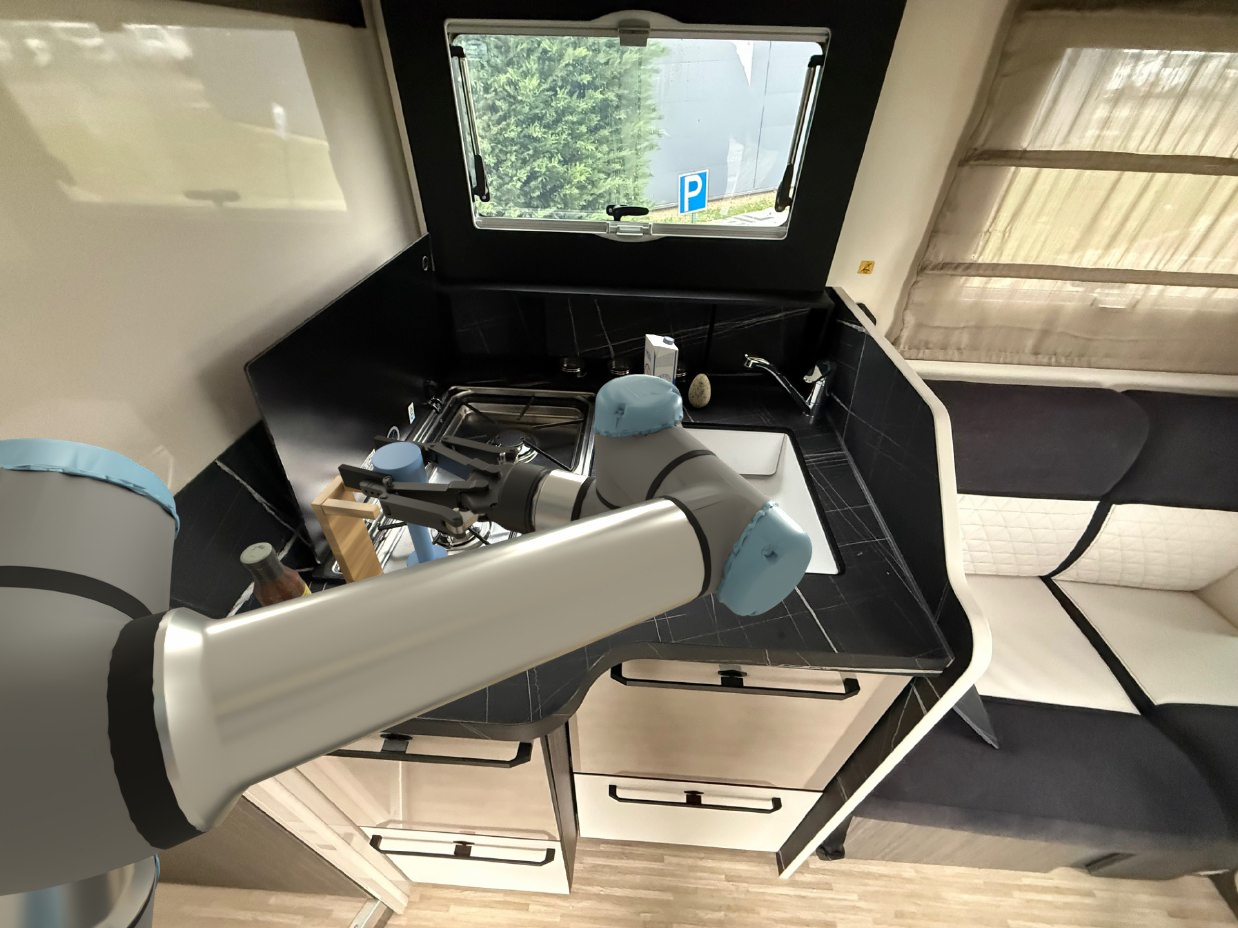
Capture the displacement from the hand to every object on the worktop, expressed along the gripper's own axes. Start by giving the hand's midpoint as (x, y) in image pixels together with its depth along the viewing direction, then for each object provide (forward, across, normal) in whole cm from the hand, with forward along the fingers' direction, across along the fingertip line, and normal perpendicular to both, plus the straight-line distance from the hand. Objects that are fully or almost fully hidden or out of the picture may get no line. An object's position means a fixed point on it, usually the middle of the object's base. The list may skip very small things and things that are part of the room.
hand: (361, 460), depth 61 cm
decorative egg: (-27, +89, -38) cm, 101 cm away
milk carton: (-16, +86, -38) cm, 96 cm away
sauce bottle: (+20, -4, -38) cm, 43 cm away
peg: (-5, 0, -16) cm, 17 cm away
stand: (+5, +2, -38) cm, 38 cm away
